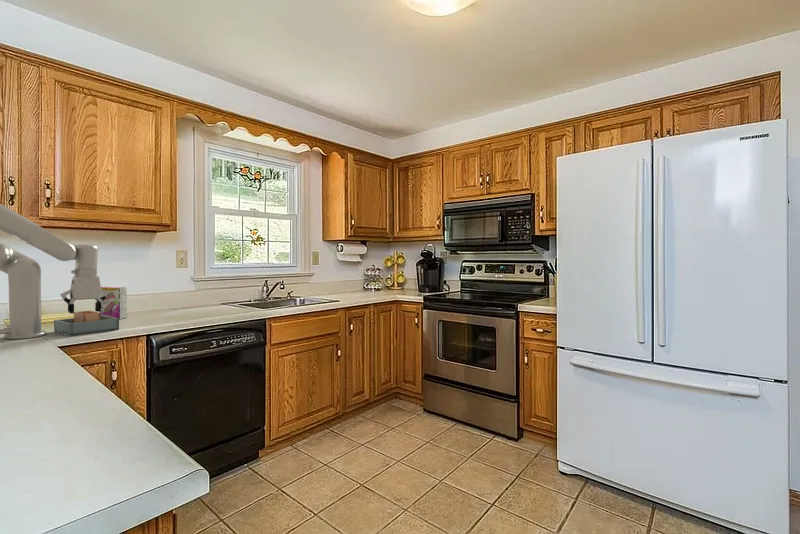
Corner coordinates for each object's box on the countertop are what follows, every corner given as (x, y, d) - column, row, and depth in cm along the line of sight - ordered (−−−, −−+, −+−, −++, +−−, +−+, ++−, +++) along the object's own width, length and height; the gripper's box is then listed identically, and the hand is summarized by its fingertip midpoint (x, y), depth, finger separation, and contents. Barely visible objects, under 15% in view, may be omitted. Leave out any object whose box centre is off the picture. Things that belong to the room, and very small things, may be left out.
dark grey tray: (69, 336, 166) (69, 324, 166) (54, 331, 175) (54, 320, 175) (119, 329, 182) (118, 318, 182) (102, 325, 190) (102, 315, 190)
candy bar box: (99, 319, 208) (99, 286, 207) (107, 317, 213) (107, 286, 212) (119, 319, 207) (119, 287, 206) (127, 318, 212) (127, 286, 211)
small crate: (83, 330, 173) (83, 314, 173) (74, 328, 178) (73, 312, 178) (100, 328, 178) (100, 312, 178) (90, 326, 183) (90, 310, 183)
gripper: (65, 273, 168) (64, 315, 168) (112, 273, 183) (111, 311, 183) (57, 272, 172) (56, 313, 172) (104, 272, 187) (103, 309, 187)
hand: (84, 312), depth 177 cm, fingers open, 9 cm apart
